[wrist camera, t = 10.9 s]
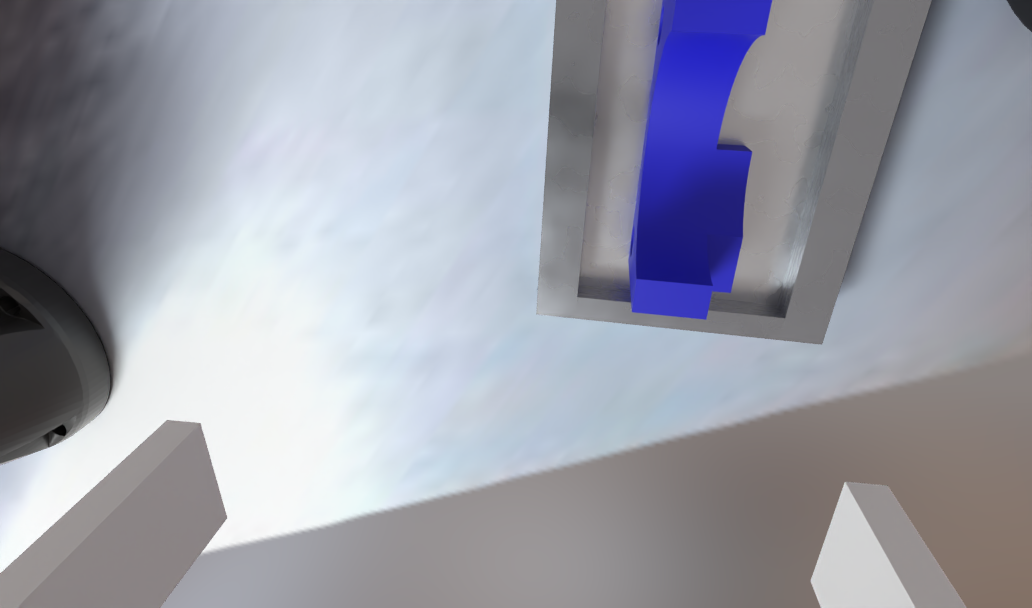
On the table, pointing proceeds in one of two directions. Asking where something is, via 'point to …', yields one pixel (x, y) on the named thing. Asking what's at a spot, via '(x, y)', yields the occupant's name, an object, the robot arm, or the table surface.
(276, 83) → the table surface
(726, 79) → the cable clip
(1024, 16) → the end cap
